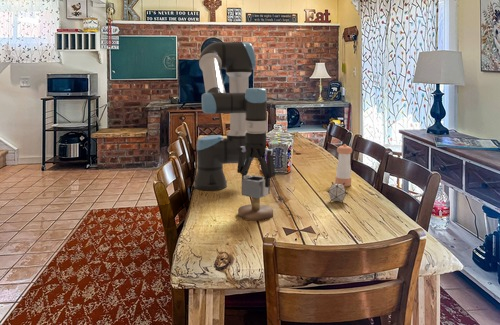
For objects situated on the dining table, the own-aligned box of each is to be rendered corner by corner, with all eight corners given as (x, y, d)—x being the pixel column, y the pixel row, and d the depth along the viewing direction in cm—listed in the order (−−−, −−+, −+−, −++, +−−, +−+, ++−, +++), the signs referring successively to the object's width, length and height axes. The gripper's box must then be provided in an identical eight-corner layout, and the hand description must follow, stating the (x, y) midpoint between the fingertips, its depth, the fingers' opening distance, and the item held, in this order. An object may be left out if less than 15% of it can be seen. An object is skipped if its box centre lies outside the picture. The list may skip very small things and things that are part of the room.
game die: (331, 209, 177) (320, 188, 179) (349, 201, 178) (338, 180, 180) (336, 205, 168) (324, 182, 171) (355, 196, 169) (343, 174, 172)
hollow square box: (241, 195, 156) (241, 179, 155) (252, 190, 162) (252, 175, 161) (259, 198, 152) (259, 182, 151) (269, 193, 158) (270, 177, 157)
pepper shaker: (348, 187, 196) (350, 146, 192) (332, 185, 200) (334, 144, 196) (353, 183, 202) (355, 143, 198) (338, 181, 206) (340, 142, 202)
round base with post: (231, 216, 157) (231, 195, 156) (250, 207, 168) (250, 187, 166) (261, 223, 150) (261, 201, 149) (279, 213, 161) (279, 192, 159)
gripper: (226, 131, 155) (227, 191, 160) (275, 135, 144) (274, 200, 149) (238, 128, 161) (238, 187, 166) (286, 133, 150) (285, 195, 155)
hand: (255, 193), depth 157 cm, fingers closed on hollow square box, 7 cm apart
